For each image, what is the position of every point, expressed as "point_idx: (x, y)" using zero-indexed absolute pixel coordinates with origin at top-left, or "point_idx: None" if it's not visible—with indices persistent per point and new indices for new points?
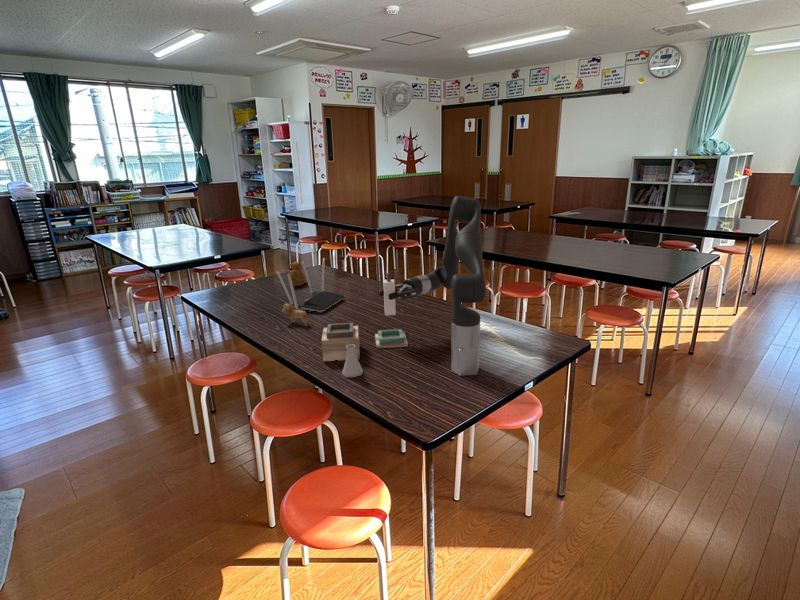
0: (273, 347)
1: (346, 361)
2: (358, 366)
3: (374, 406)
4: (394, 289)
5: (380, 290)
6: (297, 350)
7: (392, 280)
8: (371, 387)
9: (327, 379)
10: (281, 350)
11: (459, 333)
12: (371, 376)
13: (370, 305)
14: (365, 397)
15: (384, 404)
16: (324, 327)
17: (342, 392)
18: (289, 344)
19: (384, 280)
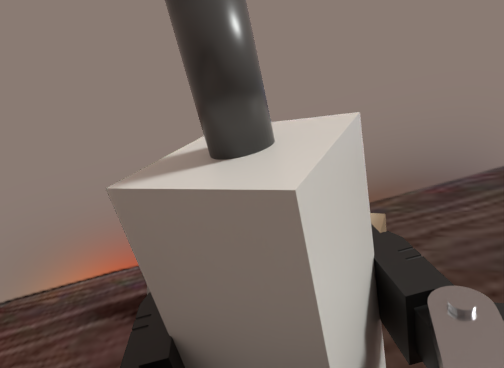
0: (424, 194)
1: None
2: (147, 291)
3: (35, 302)
4: (158, 296)
5: None
6: (386, 225)
7: (231, 174)
8: (84, 317)
9: None
10: (398, 204)
11: None
12: (120, 333)
13: None
14: (72, 297)
15: (16, 319)
16: (384, 215)
17: (128, 270)
18: (438, 214)
19: (319, 120)
